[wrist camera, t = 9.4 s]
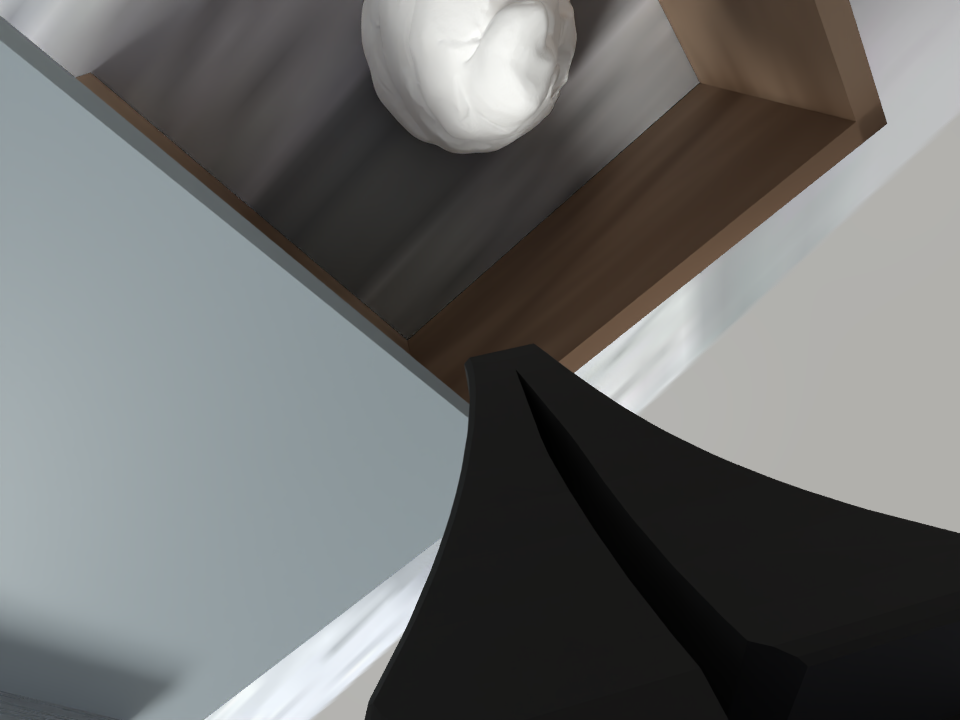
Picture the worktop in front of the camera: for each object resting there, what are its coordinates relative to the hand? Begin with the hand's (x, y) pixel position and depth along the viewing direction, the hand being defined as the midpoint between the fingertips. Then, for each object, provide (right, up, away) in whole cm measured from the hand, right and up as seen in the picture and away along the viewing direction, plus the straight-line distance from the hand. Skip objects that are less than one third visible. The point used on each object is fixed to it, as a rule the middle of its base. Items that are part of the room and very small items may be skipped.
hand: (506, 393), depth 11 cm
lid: (-9, -3, +3) cm, 10 cm away
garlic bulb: (-1, +10, +5) cm, 11 cm away
